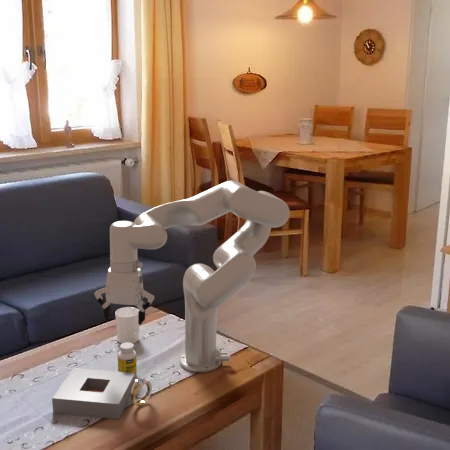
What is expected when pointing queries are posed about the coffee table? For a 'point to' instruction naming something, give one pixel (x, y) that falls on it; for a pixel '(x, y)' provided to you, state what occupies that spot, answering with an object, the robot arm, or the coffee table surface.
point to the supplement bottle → (127, 358)
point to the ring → (133, 393)
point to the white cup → (127, 324)
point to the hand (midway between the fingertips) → (124, 321)
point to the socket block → (94, 393)
